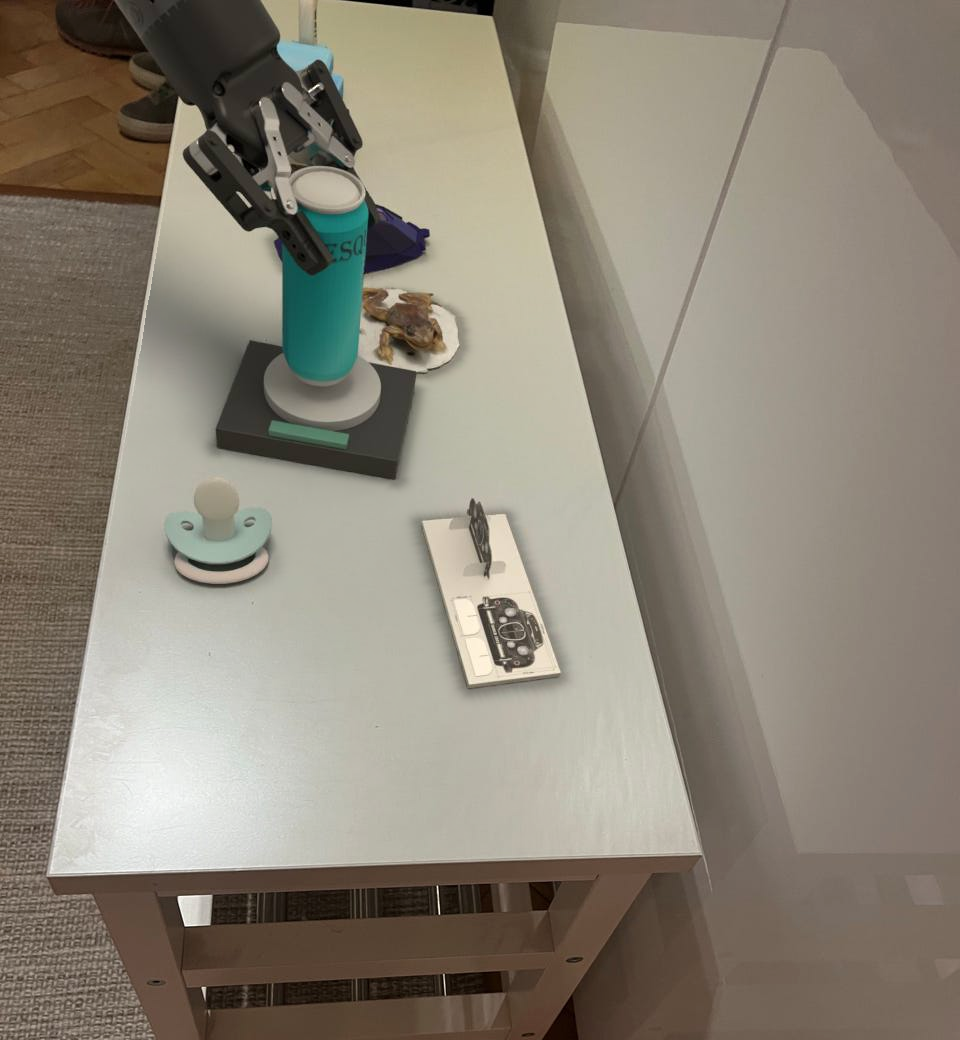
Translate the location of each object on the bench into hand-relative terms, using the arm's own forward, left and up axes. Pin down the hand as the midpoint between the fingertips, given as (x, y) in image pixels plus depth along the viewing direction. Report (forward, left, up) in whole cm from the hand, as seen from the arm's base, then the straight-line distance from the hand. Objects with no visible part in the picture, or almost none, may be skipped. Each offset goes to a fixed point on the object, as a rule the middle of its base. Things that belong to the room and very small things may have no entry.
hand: (346, 246), depth 68 cm
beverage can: (-2, +1, -11) cm, 12 cm away
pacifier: (-5, -16, -16) cm, 23 cm away
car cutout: (+14, -16, -16) cm, 26 cm away
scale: (-1, 0, -16) cm, 16 cm away
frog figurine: (+3, +12, -16) cm, 20 cm away
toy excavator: (-11, +41, -16) cm, 46 cm away
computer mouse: (-3, +24, -16) cm, 29 cm away
